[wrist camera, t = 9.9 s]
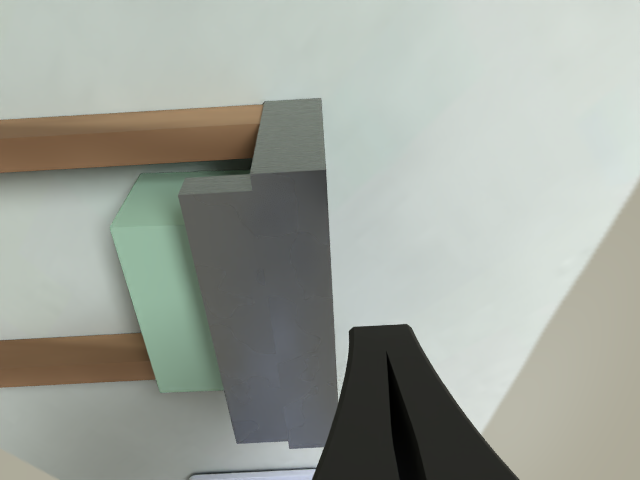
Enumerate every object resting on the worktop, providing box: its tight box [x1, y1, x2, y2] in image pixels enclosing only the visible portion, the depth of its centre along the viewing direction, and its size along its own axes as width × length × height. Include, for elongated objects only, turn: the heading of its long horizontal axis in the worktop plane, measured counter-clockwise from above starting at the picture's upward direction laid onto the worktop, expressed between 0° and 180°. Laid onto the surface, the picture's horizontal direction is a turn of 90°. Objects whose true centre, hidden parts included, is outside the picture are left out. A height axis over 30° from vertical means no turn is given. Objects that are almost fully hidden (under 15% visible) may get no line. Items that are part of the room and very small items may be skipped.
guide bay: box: [0, 98, 338, 449], centre depth 19 cm, size 12×18×6 cm, turn 93°
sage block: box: [110, 170, 251, 393], centre depth 20 cm, size 8×5×4 cm, turn 2°
